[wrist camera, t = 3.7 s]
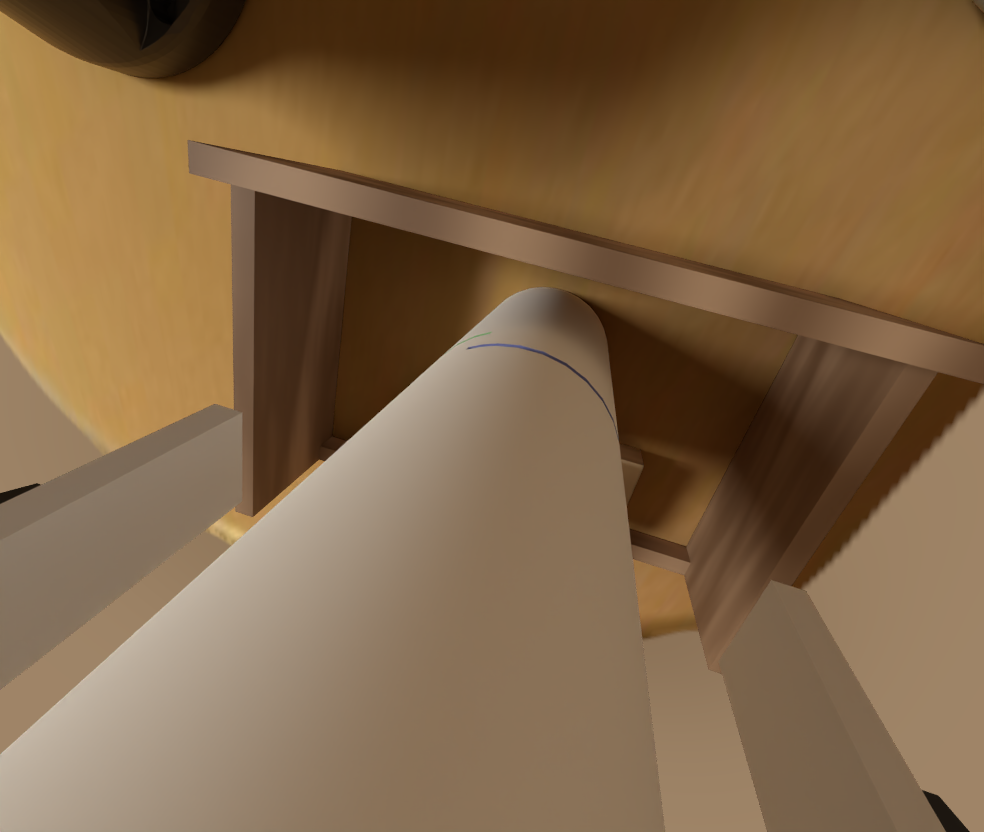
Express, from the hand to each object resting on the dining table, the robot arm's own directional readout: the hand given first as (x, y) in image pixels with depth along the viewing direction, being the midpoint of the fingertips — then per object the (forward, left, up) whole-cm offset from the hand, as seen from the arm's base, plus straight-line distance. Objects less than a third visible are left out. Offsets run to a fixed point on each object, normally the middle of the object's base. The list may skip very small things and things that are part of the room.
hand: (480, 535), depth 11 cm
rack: (0, -2, -16) cm, 16 cm away
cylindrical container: (0, 0, -17) cm, 17 cm away
